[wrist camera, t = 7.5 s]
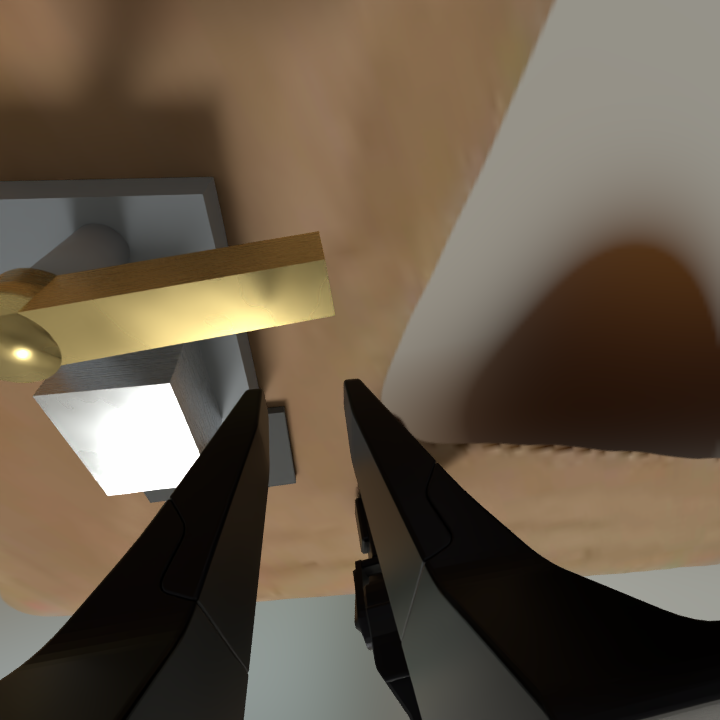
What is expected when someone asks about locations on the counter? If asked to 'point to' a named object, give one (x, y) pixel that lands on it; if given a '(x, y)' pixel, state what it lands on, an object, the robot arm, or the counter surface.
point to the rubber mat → (278, 454)
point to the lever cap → (135, 415)
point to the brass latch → (157, 303)
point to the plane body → (123, 243)
